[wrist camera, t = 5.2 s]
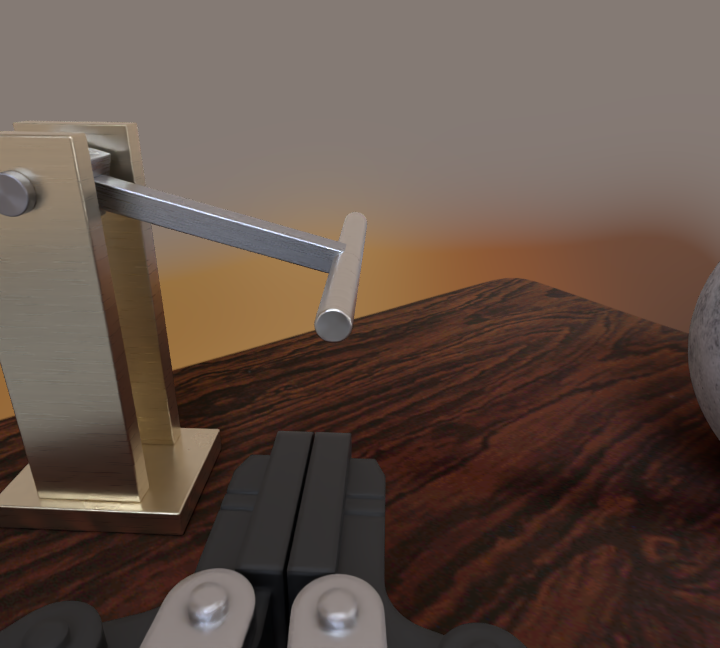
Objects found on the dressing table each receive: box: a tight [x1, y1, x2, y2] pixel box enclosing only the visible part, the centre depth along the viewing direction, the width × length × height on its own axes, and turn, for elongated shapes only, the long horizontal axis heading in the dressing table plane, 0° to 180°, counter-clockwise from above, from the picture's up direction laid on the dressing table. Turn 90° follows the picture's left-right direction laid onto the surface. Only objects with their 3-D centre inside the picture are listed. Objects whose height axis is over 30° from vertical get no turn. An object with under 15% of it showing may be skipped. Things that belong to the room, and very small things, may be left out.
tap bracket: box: [0, 121, 222, 535], centre depth 23 cm, size 8×6×16 cm
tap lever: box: [88, 147, 367, 343], centre depth 21 cm, size 13×12×2 cm
